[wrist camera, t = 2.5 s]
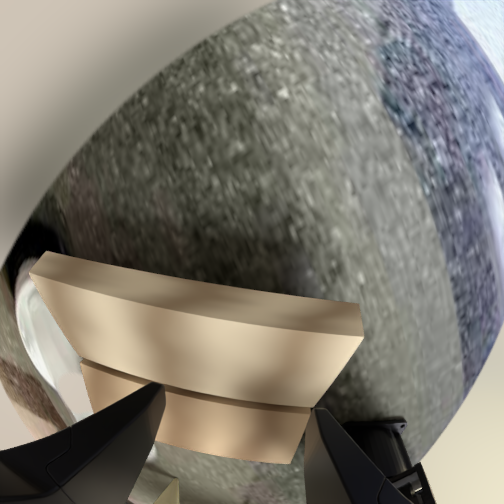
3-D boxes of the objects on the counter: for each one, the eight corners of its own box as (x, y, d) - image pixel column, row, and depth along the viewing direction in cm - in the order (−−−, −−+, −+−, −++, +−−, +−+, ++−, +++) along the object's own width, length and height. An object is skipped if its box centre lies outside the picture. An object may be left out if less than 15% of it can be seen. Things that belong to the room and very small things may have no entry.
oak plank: (359, 303, 13) (364, 336, 11) (313, 383, 19) (313, 407, 17) (46, 250, 14) (28, 272, 12) (88, 336, 19) (79, 355, 18)
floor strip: (310, 391, 19) (312, 409, 17) (289, 447, 21) (289, 463, 19) (91, 346, 20) (78, 357, 18) (104, 406, 22) (95, 418, 20)
